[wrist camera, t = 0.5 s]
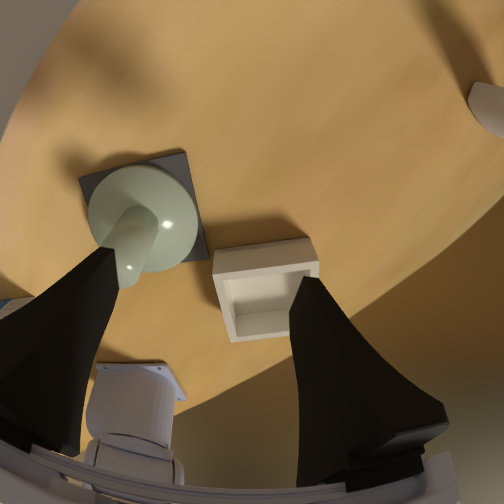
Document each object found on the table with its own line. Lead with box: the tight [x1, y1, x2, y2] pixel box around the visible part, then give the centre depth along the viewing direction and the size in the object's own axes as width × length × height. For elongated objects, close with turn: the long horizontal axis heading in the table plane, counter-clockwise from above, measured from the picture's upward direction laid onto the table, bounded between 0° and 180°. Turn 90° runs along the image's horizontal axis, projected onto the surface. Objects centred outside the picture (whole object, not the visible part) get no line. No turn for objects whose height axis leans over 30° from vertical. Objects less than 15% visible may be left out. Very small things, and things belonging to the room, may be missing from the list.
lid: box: [88, 164, 199, 289], centre depth 17 cm, size 8×8×6 cm
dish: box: [212, 237, 319, 342], centre depth 22 cm, size 7×7×3 cm
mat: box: [78, 152, 209, 263], centre depth 20 cm, size 8×8×1 cm
